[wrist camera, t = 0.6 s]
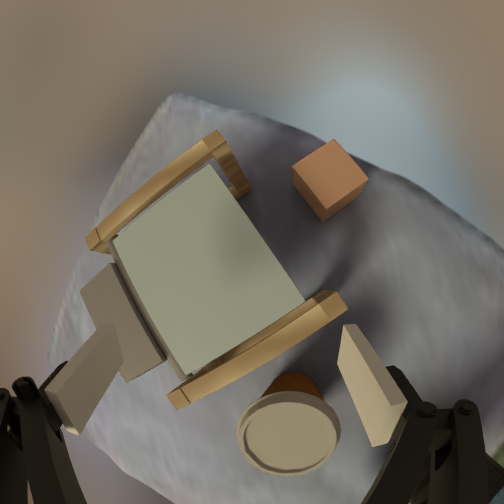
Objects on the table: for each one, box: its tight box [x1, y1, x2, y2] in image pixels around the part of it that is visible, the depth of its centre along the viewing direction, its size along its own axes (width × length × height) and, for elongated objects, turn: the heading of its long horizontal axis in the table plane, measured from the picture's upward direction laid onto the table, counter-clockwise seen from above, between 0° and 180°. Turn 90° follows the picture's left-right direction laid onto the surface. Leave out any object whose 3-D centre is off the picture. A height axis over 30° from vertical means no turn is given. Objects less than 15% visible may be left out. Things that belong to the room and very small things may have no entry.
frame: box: [85, 129, 348, 410], centre depth 28 cm, size 19×17×13 cm
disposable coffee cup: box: [236, 373, 341, 476], centre depth 25 cm, size 10×10×12 cm
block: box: [292, 139, 369, 222], centre depth 31 cm, size 6×6×6 cm
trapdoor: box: [80, 163, 305, 383], centre depth 23 cm, size 15×18×2 cm
